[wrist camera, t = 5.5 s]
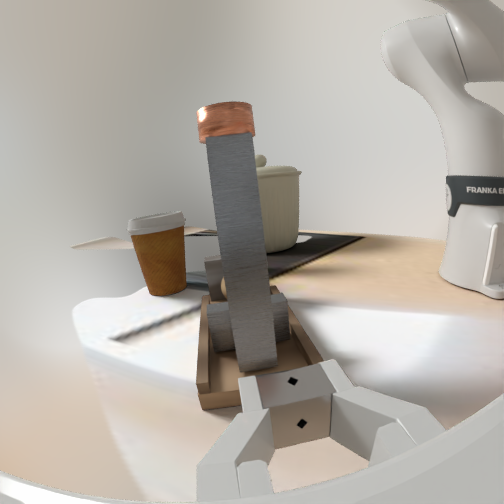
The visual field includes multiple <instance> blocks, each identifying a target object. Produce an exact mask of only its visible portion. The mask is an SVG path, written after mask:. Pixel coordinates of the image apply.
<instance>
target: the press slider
mask: <svg viewBox="0 0 504 504" xmlns="http://www.w3.org/2000/svg"><path fill="white" fill-rule="evenodd" d="M197 121H198V131H199V140H200V143H203V144H206V147H207V155H208V164H209V172H210V180H211V188H212V196H213V203H214V211H215V219H216V226H217V233H218V240H219V247H220V254H221V261H222V268H223V274H224V281H225V287H226V294H227V300H228V302H221V303H214V304H207V312H206V313H207V319H208V324H209V329H210V334H211V339H212V344H213V348H214V352H219V351H226V350H233V349H236V354H237V360H238V366H239V371H240V373H242V372H248V371H254V370H260V369H265V368H271V367H276V366H278V362H277V352H276V342H280V341H285V340H290V327H289V315H288V303H287V299H286V298H285V296H284V295H283V293H279V294H273V295H271V294H270V284H269V275H268V266H267V257H266V248H265V239H264V230H263V221H262V213H261V204H260V196H259V187H258V179H257V171H256V162H255V155H254V146H253V139H252V137H254V136H255V129H254V121H253V113H252V106H251V105H250V104H248V103H244V102H223V103H217V104H212V105H209V106H206V107H203V108H201V109H199V110H198V111H197Z"/></svg>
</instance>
